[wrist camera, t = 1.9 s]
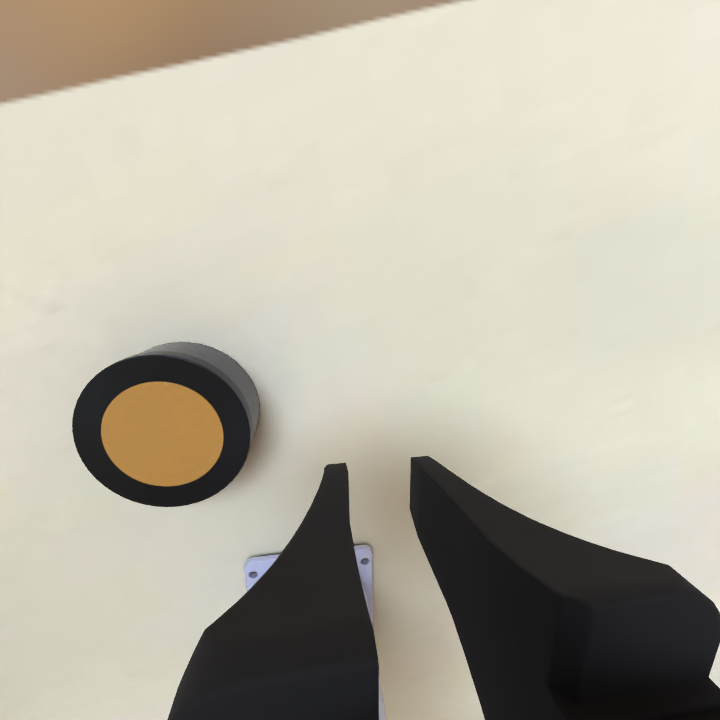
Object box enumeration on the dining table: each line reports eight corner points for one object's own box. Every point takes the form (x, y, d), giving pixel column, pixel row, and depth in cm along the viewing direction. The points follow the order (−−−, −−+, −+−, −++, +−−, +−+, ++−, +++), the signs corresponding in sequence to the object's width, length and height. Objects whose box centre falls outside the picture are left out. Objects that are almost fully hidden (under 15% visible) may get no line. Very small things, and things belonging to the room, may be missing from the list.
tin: (266, 464, 20) (257, 500, 17) (128, 476, 19) (90, 515, 16) (254, 337, 18) (241, 351, 15) (100, 343, 17) (51, 359, 14)
